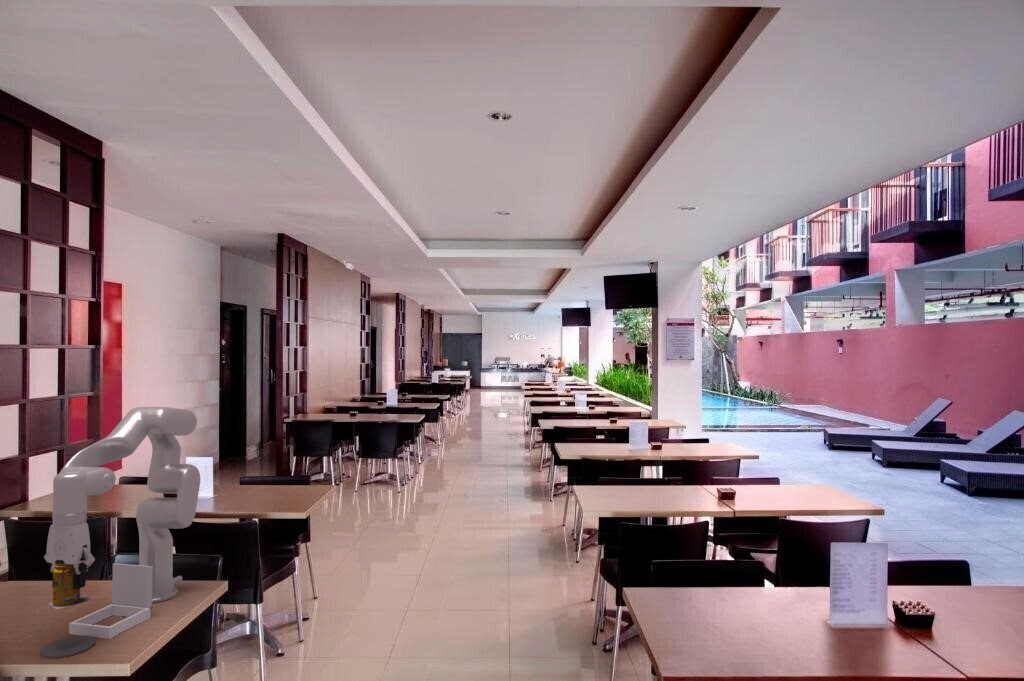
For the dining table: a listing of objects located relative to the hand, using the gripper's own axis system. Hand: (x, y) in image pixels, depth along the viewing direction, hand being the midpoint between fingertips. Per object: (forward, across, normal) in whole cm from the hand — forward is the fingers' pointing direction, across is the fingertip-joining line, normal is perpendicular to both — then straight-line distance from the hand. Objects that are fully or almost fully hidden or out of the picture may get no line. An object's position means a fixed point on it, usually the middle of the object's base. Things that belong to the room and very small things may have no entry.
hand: (69, 586), depth 176 cm
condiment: (+4, 0, 0) cm, 4 cm away
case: (+16, -1, +15) cm, 22 cm away
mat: (+16, 0, 0) cm, 16 cm away
